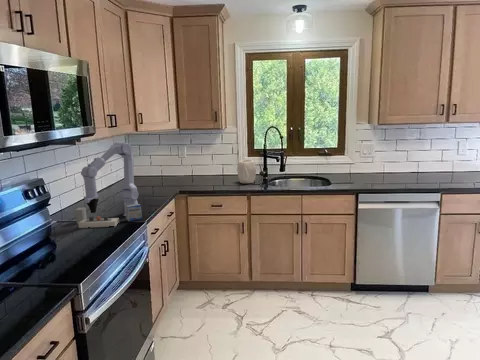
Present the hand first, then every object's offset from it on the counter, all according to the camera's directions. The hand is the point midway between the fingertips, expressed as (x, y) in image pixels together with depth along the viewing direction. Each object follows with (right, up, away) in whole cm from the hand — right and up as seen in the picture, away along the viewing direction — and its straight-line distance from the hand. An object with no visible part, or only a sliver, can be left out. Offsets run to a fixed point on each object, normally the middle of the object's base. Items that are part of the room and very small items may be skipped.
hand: (93, 212), depth 207 cm
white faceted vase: (+87, +15, +109) cm, 140 cm away
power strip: (+3, -7, +1) cm, 8 cm away
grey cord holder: (-10, -6, +9) cm, 15 cm away
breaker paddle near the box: (+7, -4, +1) cm, 8 cm away
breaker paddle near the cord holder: (-1, -4, +1) cm, 5 cm away
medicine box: (+20, -5, +10) cm, 23 cm away
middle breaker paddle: (+3, -4, +1) cm, 5 cm away
